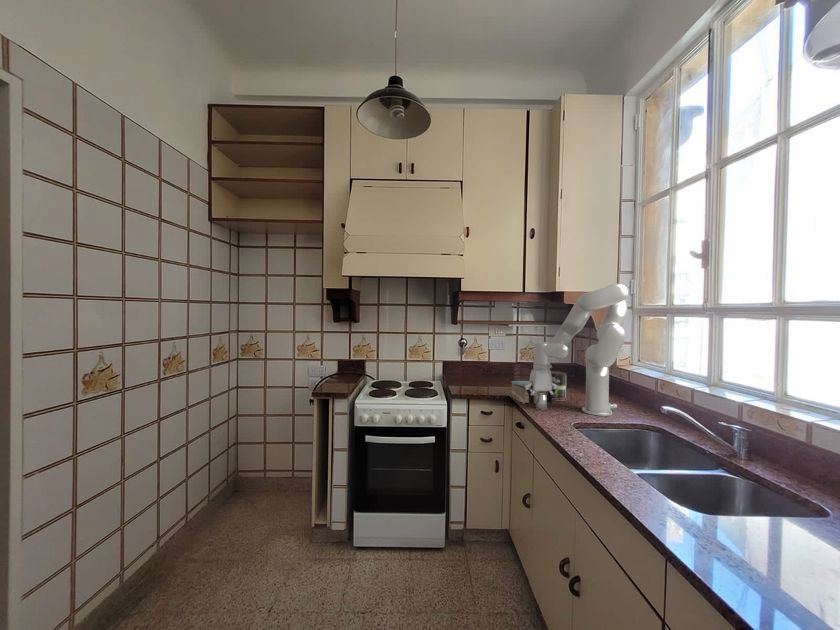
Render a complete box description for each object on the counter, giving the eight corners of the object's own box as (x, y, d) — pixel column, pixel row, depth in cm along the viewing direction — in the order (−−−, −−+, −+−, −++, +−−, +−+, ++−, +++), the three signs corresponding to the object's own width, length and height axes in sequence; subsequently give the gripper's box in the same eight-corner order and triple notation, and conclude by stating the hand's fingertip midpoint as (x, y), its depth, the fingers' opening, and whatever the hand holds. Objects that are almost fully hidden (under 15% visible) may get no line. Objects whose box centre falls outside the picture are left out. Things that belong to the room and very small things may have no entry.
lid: (526, 382, 187) (526, 380, 187) (539, 385, 175) (539, 383, 175) (511, 383, 185) (511, 381, 185) (523, 386, 173) (523, 384, 173)
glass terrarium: (562, 401, 179) (562, 374, 179) (542, 398, 186) (543, 372, 186) (569, 398, 187) (569, 372, 187) (550, 395, 194) (550, 370, 194)
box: (526, 397, 187) (526, 383, 187) (538, 403, 175) (539, 387, 175) (511, 398, 185) (511, 383, 185) (523, 404, 173) (523, 388, 173)
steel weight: (543, 406, 168) (543, 392, 168) (549, 409, 163) (549, 395, 163) (533, 407, 167) (534, 393, 167) (539, 410, 162) (539, 395, 162)
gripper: (552, 366, 171) (551, 400, 171) (521, 366, 167) (520, 401, 167) (562, 368, 164) (560, 404, 164) (529, 368, 160) (528, 405, 160)
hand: (540, 402), depth 165 cm, fingers open, 9 cm apart
